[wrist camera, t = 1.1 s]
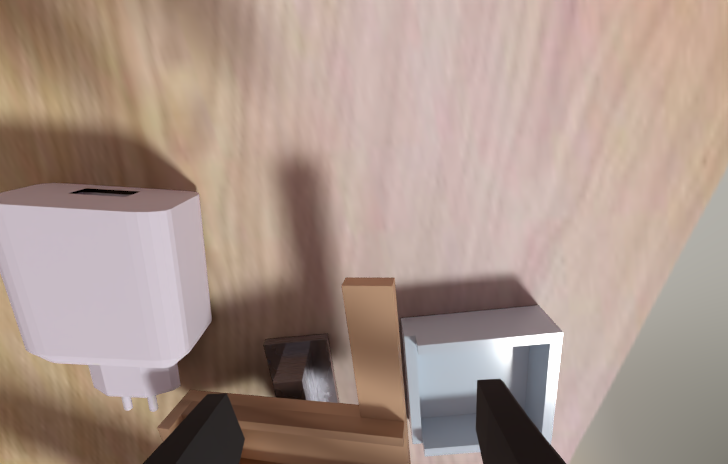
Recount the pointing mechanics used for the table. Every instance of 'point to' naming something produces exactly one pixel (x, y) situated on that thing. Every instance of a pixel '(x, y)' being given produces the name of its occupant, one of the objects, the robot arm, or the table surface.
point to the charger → (107, 281)
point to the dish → (477, 371)
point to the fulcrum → (302, 368)
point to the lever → (326, 419)
